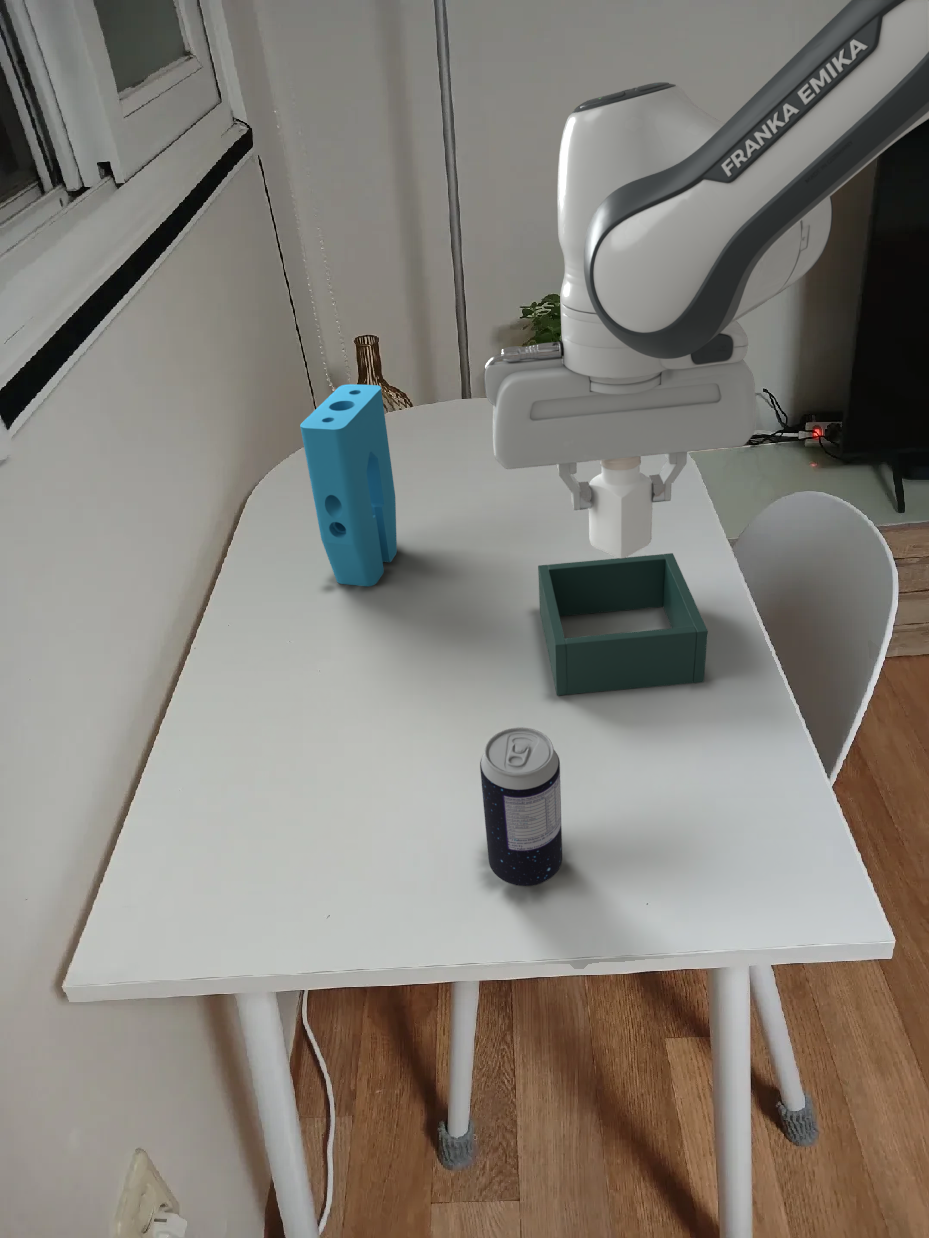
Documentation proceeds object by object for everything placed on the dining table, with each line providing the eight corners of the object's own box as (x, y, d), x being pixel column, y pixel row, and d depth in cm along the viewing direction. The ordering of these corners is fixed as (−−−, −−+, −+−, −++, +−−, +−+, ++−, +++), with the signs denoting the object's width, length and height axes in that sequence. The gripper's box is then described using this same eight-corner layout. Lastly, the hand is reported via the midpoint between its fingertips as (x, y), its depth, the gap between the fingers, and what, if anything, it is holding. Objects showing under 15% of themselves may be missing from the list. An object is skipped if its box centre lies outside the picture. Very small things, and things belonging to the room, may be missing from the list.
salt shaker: (586, 546, 81) (584, 443, 75) (619, 529, 83) (619, 427, 77) (621, 563, 78) (621, 457, 73) (654, 545, 80) (657, 440, 75)
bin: (670, 601, 102) (672, 552, 98) (703, 682, 90) (708, 631, 87) (539, 613, 102) (537, 565, 98) (556, 695, 90) (555, 645, 87)
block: (366, 538, 118) (342, 384, 107) (404, 542, 117) (383, 385, 105) (327, 591, 109) (296, 427, 97) (368, 595, 107) (341, 430, 96)
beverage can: (568, 842, 75) (566, 728, 69) (554, 900, 71) (550, 783, 64) (499, 831, 77) (490, 718, 70) (481, 886, 72) (469, 772, 66)
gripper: (483, 364, 68) (497, 533, 76) (770, 335, 67) (755, 508, 75) (479, 336, 73) (492, 497, 81) (745, 309, 73) (733, 473, 80)
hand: (621, 502), depth 78 cm, fingers closed on salt shaker, 5 cm apart
